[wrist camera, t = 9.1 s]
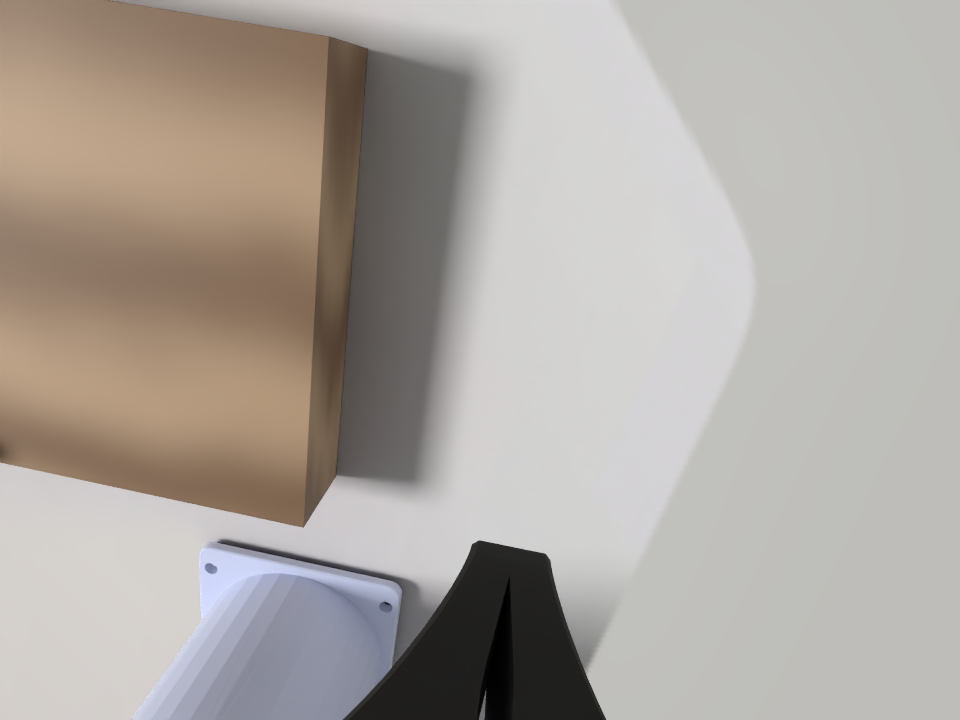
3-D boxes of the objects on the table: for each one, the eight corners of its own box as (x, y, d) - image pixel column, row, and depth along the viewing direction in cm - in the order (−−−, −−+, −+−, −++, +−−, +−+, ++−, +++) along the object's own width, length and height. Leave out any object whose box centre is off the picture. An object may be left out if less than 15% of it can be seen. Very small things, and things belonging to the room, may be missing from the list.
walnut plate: (335, 476, 22) (303, 527, 20) (26, 411, 23) (-48, 452, 20) (367, 48, 17) (329, 36, 14) (-39, -18, 18) (-152, -43, 15)
